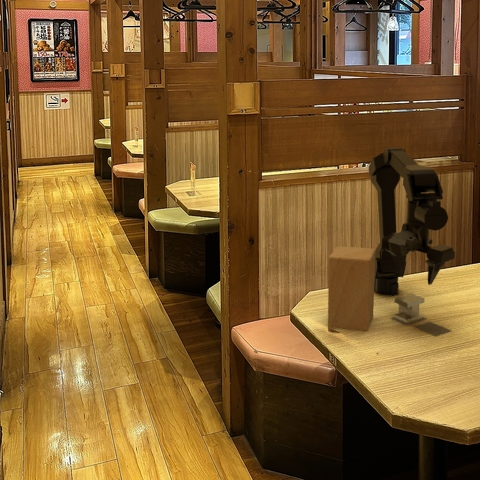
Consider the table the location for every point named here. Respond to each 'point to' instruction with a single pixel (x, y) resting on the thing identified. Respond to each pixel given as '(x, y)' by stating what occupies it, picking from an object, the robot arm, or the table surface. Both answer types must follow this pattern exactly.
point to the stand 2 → (432, 328)
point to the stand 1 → (408, 323)
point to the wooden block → (351, 288)
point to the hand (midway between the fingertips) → (415, 279)
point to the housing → (408, 308)
